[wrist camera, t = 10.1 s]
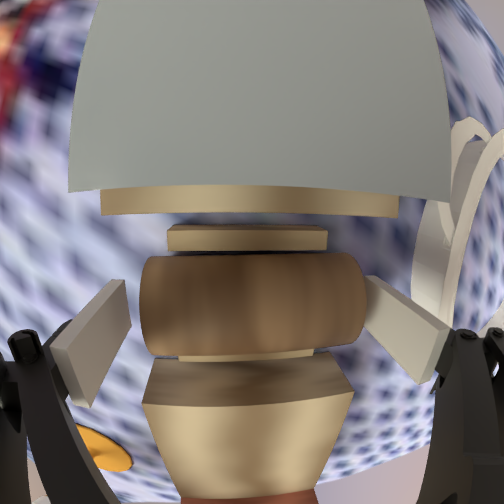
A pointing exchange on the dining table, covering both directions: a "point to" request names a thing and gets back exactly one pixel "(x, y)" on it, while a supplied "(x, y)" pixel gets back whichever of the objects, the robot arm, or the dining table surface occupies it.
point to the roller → (250, 303)
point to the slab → (262, 97)
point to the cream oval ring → (454, 223)
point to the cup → (100, 454)
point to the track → (246, 359)
